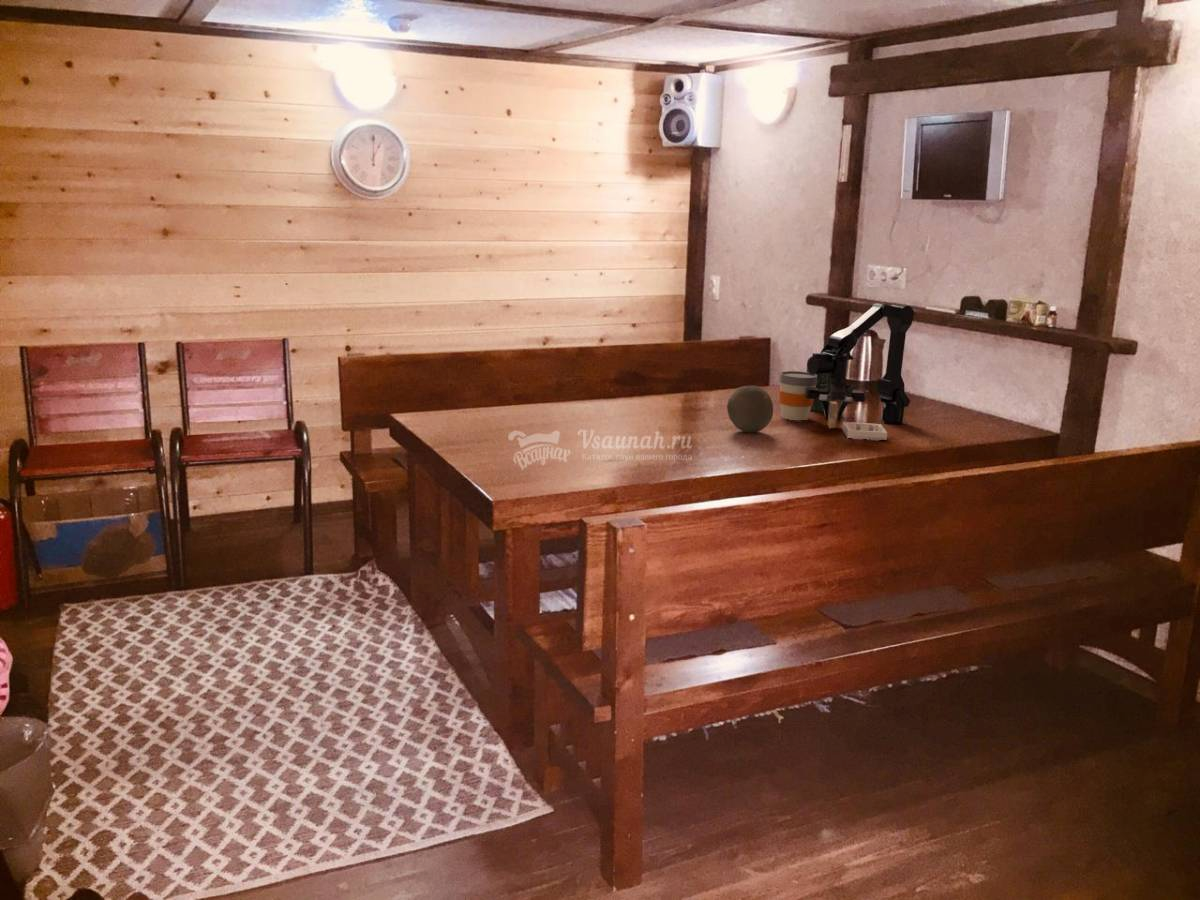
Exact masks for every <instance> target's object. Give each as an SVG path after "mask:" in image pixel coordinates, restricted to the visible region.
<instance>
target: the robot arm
mask: <svg viewBox="0 0 1200 900" xmlns="http://www.w3.org/2000/svg"><path fill="white" fill-rule="evenodd" d="M885 317H886V322H887V324H888V325H887V326H888V328H889V331H890V332H889V333H890V334H889V341H888V351H887V357H886V358H887V359H886V366H885V367H886V369H885V374H884V376H883V377H882V378H881V377H879V378H878V381H877V388H876V390H877V393H878V396H879V399H880V402H881V403H883V406H882V407H881V412H880V420H881V421H882V422H883V424H889V425H891V424H892V425H905V422H904V421H903V420H904V414H905V408H906V407H907V408H908V407H909V406H910V402H911V400H910V398H909V397H908V395H907V394H906V392H905V390H906V389H905V381H904V379H903V377H902V369H903V361H904V354H905V353H904V352H905V345H906V344H905V343H906V338H907V337H906V336H907V333H908V330H909V329H910V327H911V326H912V324H913V321H914V317H915V311H914V308H913V307H912V306H911V305H906V304H902V303H892V304H890V305H889V304H888V303H883V302H875V303H874V304H873V305H872V307H870V308H869V309H868V310H867V311H866V312H865V313H864V314H862V315H861V316H860V317H859V318H857V320H855V321H854V322H853V323H851V324H850V325H849V326H848V327H846V328H843V329H840V330H838V331H835V332H834V333H833V334H831V335H830V336H829V338H828V341H827V342H826V344H825V345H824V347H823V348H822V350H821V351H820V353H817V352H813V353H812V355H811V356H810V357H811V358H810V357H809V358H810V359H809V358H808V359H809V361H808V360H807V361H808V363H807V362H806V366H807V368H806V370H807V369H808V371H809V373H810V374H812V375H815V374H828V380H827V390H826V391H819V389H818V388H812V387H807V388H806V389H805V396H806V398H808V399H818V401H819V402H821V403H822V406H823V409H824V411H823V413H824V417H825V420H826V421H828V416H829V410H828V400H827V397H830V400H832V401H836V400H837V401H838V400H839V404H838V410H837V420H836V422H837V421H838V422H839V421H840V419H841V416H842V415H843V413H844V412H845V409H846V407H847V406H848V405H850V404H853V401H855V402H856V403H857V402H859V403H865V402H866V394H865V392H864V391H863V390H861V389H854V386H853V384H846V381H847V380H846V379H847V371H848V363H849V361H851V360H852V361H853V360H854V359H855V358H854V357H853V355H852V354H851V353H850V352H851V351H852V350H853V349H854V348H855V346H857V345H858V344H857V343H858V342H859V339H860V338H861V337H862V336H863V335H864V334H865V333H867V332H868V331H869V330H870V329H871V328H872V327H874V326H875V325H876V324H877V323H878V322H879V321H881V320H882V319H883V318H885ZM852 399H853V401H852Z"/></svg>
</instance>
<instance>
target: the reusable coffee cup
mask: <svg viewBox="0 0 1200 900" xmlns="http://www.w3.org/2000/svg"><path fill="white" fill-rule="evenodd" d="M778 380H779V384H780V388H779V391H778V392H779V394H778V395H779V396H778V397H779V403H780V411H781V413H780V415H781V419H783V418H785V419H784V420H786V419H790V420H789V421H791V420H806V421H808V420H809V417H810V413H811V410H810V409H811V406H812V405H813V401H814V399H808V398H806V396H805V389H806V388H807V387H812V388H815V387H816V385H817V375H812V374H810V373H808V372H807V371H797V370H796V371H795V370H793V371H792V370H788V371H787V370H785V371H781V372H780V375H779V379H778ZM807 419H808V420H807Z"/></svg>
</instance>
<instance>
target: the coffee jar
mask: <svg viewBox="0 0 1200 900" xmlns="http://www.w3.org/2000/svg"><path fill="white" fill-rule="evenodd" d="M811 357H812V356H810V357H808V358H807V362H806V364H807V363H808V361H809V359H810V358H811ZM806 372H808V373H809V371H808V369H807V365H806ZM815 375H817V385H816V387H815V388H818V389H819V391H826V390H827V380H828V374H815ZM827 400H828V411H829V406H830V402H831V399H830V397H827ZM810 411H818V412H824V409H823V406H822V403H821V402H819V401H818V399H814V401H813V405H812V406H811V409H810Z"/></svg>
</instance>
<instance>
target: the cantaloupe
mask: <svg viewBox="0 0 1200 900" xmlns="http://www.w3.org/2000/svg"><path fill="white" fill-rule="evenodd" d="M726 409H727V413H728V418H729V420H730V421H731V423H732V424H733V425H734V426H735V427H736V428H737V429H738V430H740V431H742V432H744V433H750V434H751V433H758V432H760V431H762V430H764V429H765V428H766V427H767V426H768V425H769V424H770V423H771V421H772V419H773V416H774V404H773V401H772V399H771V396H770V394H769V393H768V392H767V391H766V390H765V389H763V388H762V387H760V386H757V385H744V386H743V385H742V386H740V387H738V388H735V390H734V391H733V392H732V393H731V394H730V396H729V397H728V400H727V405H726Z"/></svg>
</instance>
